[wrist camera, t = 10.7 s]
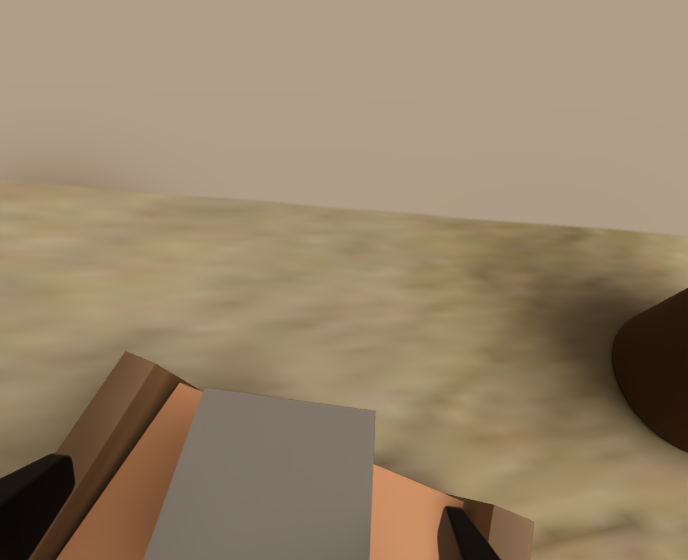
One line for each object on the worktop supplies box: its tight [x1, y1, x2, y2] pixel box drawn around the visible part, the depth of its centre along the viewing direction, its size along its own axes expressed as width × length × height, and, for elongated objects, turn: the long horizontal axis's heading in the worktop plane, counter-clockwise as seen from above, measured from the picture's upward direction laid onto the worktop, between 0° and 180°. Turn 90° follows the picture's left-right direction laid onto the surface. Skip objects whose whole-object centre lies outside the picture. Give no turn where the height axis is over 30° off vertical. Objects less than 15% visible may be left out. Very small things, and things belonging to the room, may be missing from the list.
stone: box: [144, 388, 376, 560], centre depth 12 cm, size 5×5×7 cm
